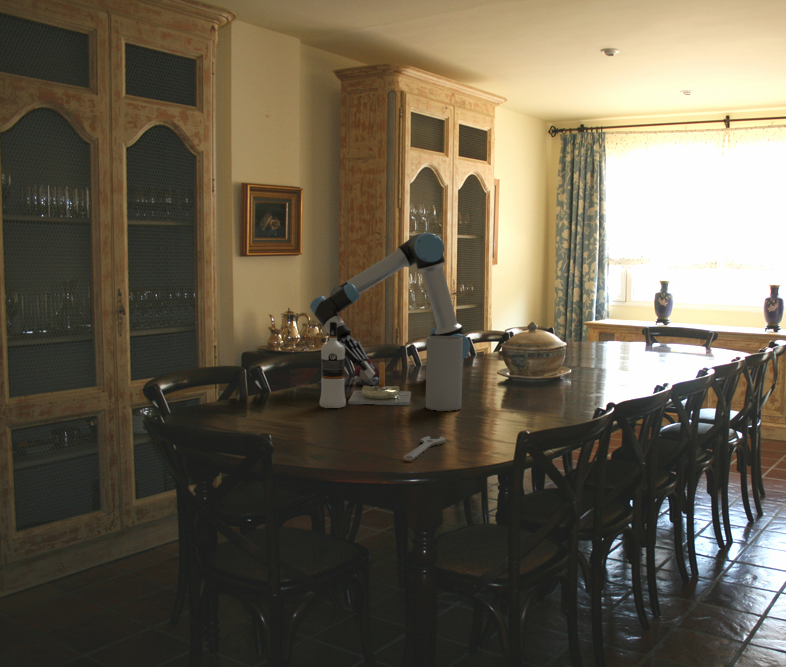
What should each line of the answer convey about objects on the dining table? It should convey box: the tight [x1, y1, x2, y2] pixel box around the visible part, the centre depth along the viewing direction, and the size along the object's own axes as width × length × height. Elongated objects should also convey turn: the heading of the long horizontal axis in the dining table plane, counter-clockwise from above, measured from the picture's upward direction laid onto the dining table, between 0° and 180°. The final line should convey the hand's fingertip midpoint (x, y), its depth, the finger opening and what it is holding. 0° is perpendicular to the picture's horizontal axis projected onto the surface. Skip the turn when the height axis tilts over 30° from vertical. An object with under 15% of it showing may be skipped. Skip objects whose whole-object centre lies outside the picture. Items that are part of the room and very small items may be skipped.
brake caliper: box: [352, 357, 379, 386], centre depth 305 cm, size 11×11×12 cm
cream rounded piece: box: [361, 362, 401, 399], centre depth 273 cm, size 14×14×11 cm
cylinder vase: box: [425, 335, 463, 412], centre depth 257 cm, size 12×12×25 cm
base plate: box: [347, 389, 412, 406], centre depth 274 cm, size 22×22×1 cm
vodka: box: [319, 322, 347, 409], centre depth 257 cm, size 9×9×30 cm
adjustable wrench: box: [403, 435, 446, 460], centre depth 200 cm, size 25×6×2 cm, turn 154°
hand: (372, 375), depth 281 cm, fingers closed
